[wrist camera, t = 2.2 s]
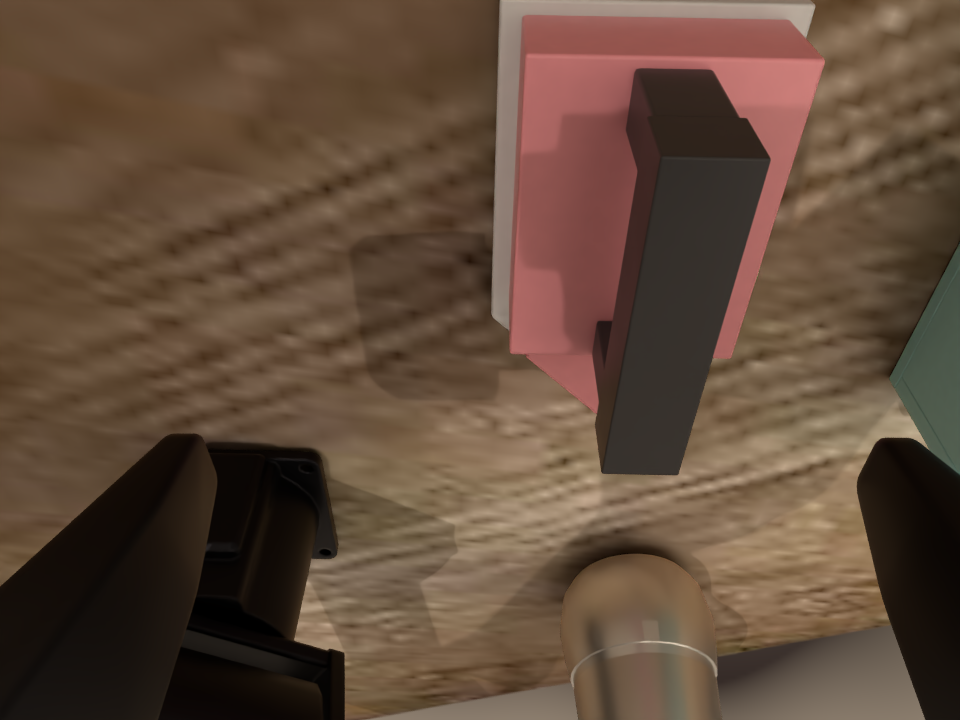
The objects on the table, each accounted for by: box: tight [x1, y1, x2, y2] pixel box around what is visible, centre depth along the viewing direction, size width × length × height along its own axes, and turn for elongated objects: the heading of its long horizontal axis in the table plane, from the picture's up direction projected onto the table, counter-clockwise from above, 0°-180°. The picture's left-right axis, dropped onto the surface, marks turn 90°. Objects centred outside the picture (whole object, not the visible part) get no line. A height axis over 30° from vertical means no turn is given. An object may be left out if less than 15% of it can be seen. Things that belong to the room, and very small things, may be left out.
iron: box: [491, 0, 825, 475], centre depth 19 cm, size 12×7×7 cm, turn 179°
